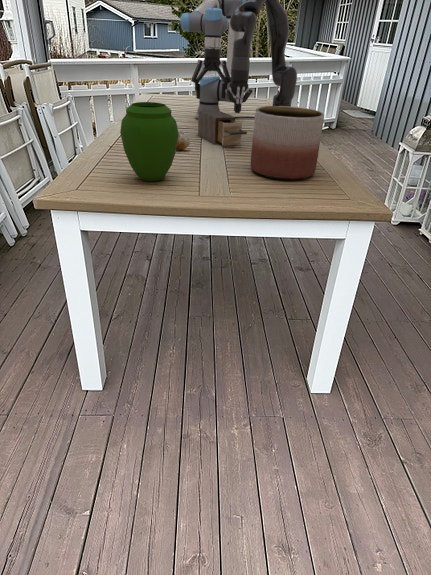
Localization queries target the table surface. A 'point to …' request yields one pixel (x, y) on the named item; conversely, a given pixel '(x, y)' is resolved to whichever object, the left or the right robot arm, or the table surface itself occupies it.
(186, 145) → the seashell
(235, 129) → the drawer
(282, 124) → the planter
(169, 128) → the vase
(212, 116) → the small wooden cabinet
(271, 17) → the right robot arm
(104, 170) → the table surface
